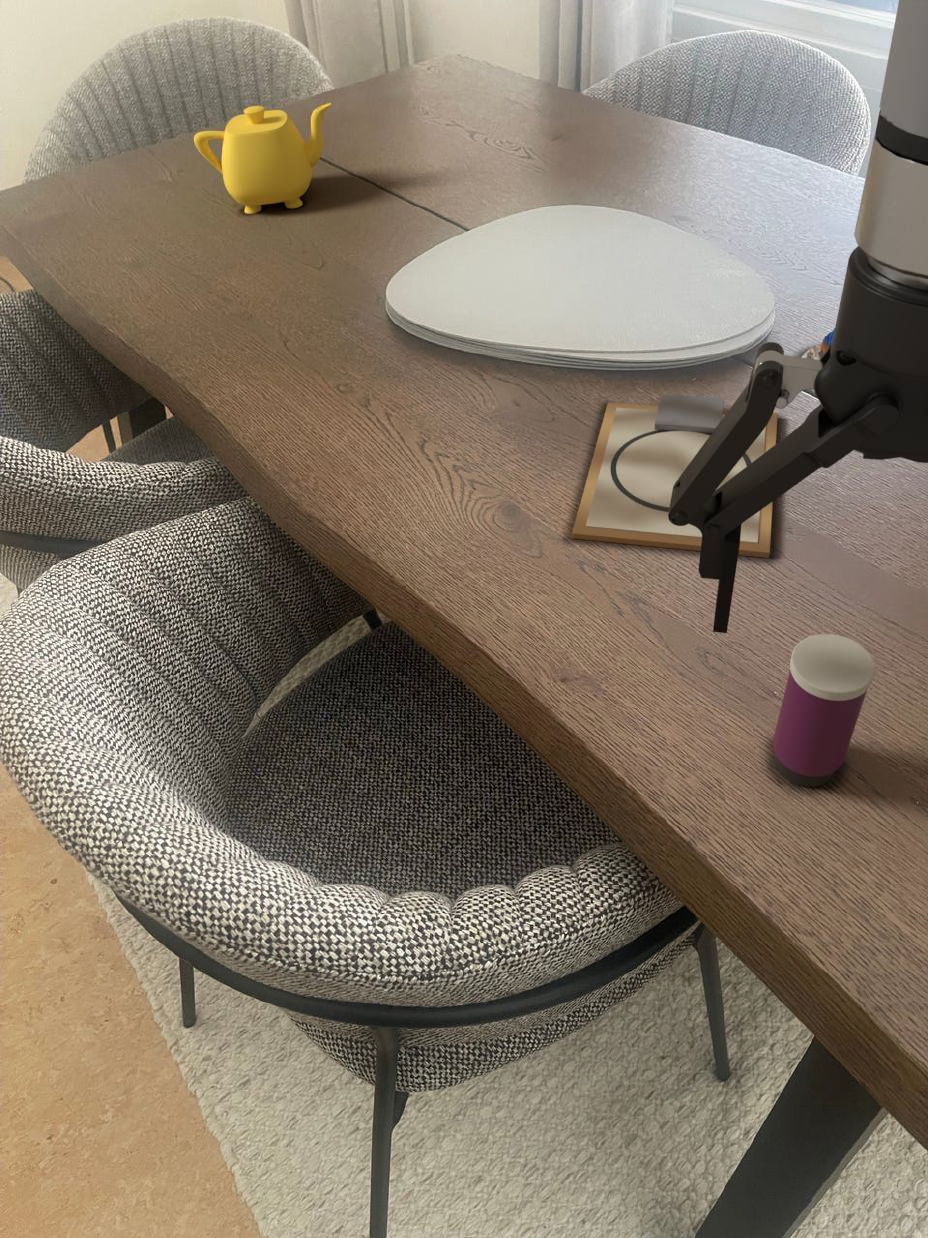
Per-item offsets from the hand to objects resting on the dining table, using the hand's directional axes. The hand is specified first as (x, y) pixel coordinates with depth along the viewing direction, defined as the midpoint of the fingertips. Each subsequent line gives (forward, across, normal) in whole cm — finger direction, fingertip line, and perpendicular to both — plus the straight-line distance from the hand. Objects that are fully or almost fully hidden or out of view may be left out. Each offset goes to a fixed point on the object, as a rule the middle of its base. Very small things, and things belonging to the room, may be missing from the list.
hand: (848, 630), depth 52 cm
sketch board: (+13, +11, -31) cm, 35 cm away
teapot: (+11, +75, -90) cm, 118 cm away
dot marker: (+13, 0, -1) cm, 13 cm away
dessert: (+12, -3, -51) cm, 52 cm away
